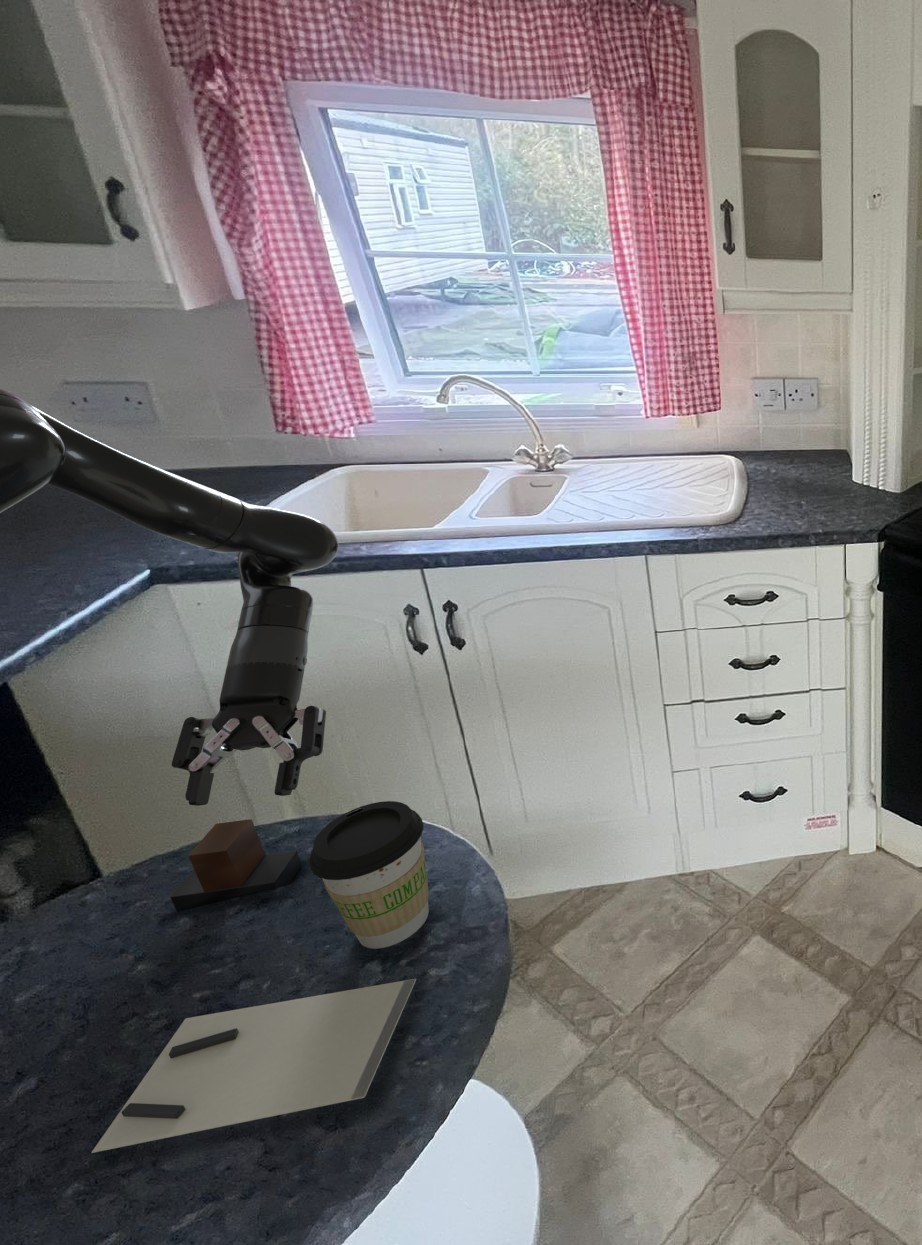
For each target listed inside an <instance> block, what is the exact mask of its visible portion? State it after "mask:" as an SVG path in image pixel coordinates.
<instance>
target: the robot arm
mask: <svg viewBox="0 0 922 1245" xmlns="http://www.w3.org/2000/svg"><path fill="white" fill-rule="evenodd" d="M46 485H49V486H52V487H54V488H57V489H60V490H63V491H64V492H68V493H69V494H72V495H75V496H77V497H79V498H82V499H84V500H85V501H88V502H90V503H92V504H95V505H96V506H99V507H101V508H103V509H105V510H107V511H109V512H111V513H113V514H115V515H116V516H119V517H121V518H123V519H125V520H127V521H128V522H131V523H132V524H135V525H137V526H139V527H142V528H143V529H146V530H148V531H151V532H153V533H156V534H158V535H161V536H163V537H167V538H169V539H172V540H176V541H178V542H182V543H184V544H188V545H191V546H194V547H197V548H200V549H203V550H206V551H210V552H214V553H219V554H236V553H237V569H238V575H239V584H240V590H241V595H242V602H243V603H242V606H241V610H240V614H239V620H238V624H237V629H236V632H235V636H234V638H233V641H232V644H231V646H230V650H229V654H228V658H227V662H226V668H225V672H224V677H223V682H222V686H221V691H220V695H219V700H218V701H219V711H218V713H217V714H216V716H214V717H211V718H199V717H195V716H189V717H187V718H185V719H184V721H183V724H182V727H181V731H180V734H179V737H178V739H177V744H176V747H175V749H174V750H175V751H174V754H173V757H172V760H171V767H172V768H176V769H180V770H184V771H187V772H188V773H189V776H188V781H187V786H186V791H185V795H184V796H185V797H184V798H185V801H188V805H190V806H196V807H198V806H207V804H208V803H209V801H210V797H211V796H210V795H211V790H212V786H213V780H214V776H215V773H214V772H213V771H214V770H215V769H216V768H217V767H218V766H219V765H220V764H221V763H222V762H223V761H224V760H226V759H227V758H230V757H231V756H232V755H233V754H234V753H235V752H236V751H241V752H242V751H250V750H253V749H256V748H260V749H268V748H269V749H271V748H273V749H274V750H275V751H276V753H278V755H279V757H280V758H281V759H282V761H283V762H279V764H278V769H277V775H276V781H275V786H274V795H275V796H278V797H279V796H280V797H285V796H290V795H291V794H293V793H292V792H293V791H294V790H296V789H297V788H298V785H299V780H300V774H301V766H302V764H303V762H304V761H306V760H308V759H310V758H313V757H319V756H320V755H322V753H323V749H324V740H325V739H324V738H325V728H326V718H327V711H326V709H324V708H322V707H318V706H315V705H308V706H306V708H303V709H302V708H301V709H298V706H297V705H298V703H299V701H300V698H301V692H302V687H303V680H304V675H305V669H306V665H307V663H308V653H309V652H308V651H309V633H310V628H311V621H312V615H313V609H314V599H313V596H312V594H311V593H310V592H309V591H307V590H306V589H304V588H301V587H297V586H292V577H293V575H294V574H299V573H304V572H309V571H314V570H318V569H320V568H323V567H326V566H327V565H328V564H331V562H332V561H333V560H334V559H336V557H337V555H338V552H339V541H338V538H337V536H336V534H335V532H334V531H333V530H332V529H331V528H330V527H329V526H328V525H326V523H324V522H322V521H321V520H318V519H317V518H314V517H311V516H309V515H306V514H303V513H298V512H294V511H290V510H285V509H280V508H276V507H271V506H265V505H258V504H253V503H249V502H246V501H244V500H242V499H240V498H237V497H234V496H231V495H229V494H226V493H224V492H221V491H219V490H216V489H214V488H212V487H209V486H206V485H203V484H202V483H199V482H195V481H194V480H191V479H188V478H186V477H183V476H180V475H178V474H175V473H173V472H170V471H167V470H165V469H162V468H161V467H158V466H156V465H154V464H150V463H148V462H145V461H143V460H141V459H139V458H136V457H134V456H131V455H129V454H127V453H124V452H122V451H120V450H117V449H115V448H114V447H112V446H111V447H110V446H109V445H107V444H105V443H103V442H100V441H98V440H96V439H95V438H92V437H90V436H89V435H86V434H84V433H83V432H80V431H79V430H76V429H74V428H72V427H70V426H69V425H67V424H65V423H64V422H61V421H60V420H58V419H56V418H54V417H53V416H51V415H49V414H47V413H45V412H44V411H43V410H41V409H39V408H37V407H35V406H34V405H31V404H30V403H28V402H27V401H26V400H24V399H22V398H21V397H19V396H17V395H15V394H13V393H11V392H9V391H7V390H5V389H1V388H0V514H1V513H3V512H4V511H6V510H8V509H9V508H11V507H13V506H15V505H17V504H18V503H20V502H21V501H23V500H24V499H26V498H28V497H30V496H31V495H32V494H34V493H36V492H38V491H39V490H41V489H42V488H43V487H45V486H46ZM297 722H299V724H300V725H301V726H302V731H301V740H300V747H299V746H298V743H297V741H296V740H295V738H294V737H293V736H292V734H291V733H290V732H289V731H290V730H291V728H292V727H293V726H295V724H296V723H297ZM212 730H214V731H215V733H216V734H215V735H214V736H213V737H212V738H211V739H210V740H209V741H208V742H207V743H206V744H205V740H206V737H207V736H208V735H210V734H212V732H211V731H212ZM204 744H205V745H204Z"/></svg>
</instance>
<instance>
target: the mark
mask: <svg viewBox="0 0 922 1245" xmlns="http://www.w3.org/2000/svg"><path fill="white" fill-rule="evenodd" d="M238 1033H239V1031H238V1029H237V1028H235V1029H232V1030H229V1031H225V1032H222V1033H218V1034H215V1035H212V1036H208V1037H205V1038H201V1039H198V1040H195V1041H191V1042H188V1043H184V1044H181V1045H177V1046H174V1047H172V1049H171V1051H170V1053H169V1056H170V1058H174V1057H178V1056H181V1055H184V1054H188V1053H191V1052H194V1051H198V1050H201V1049H205V1048H208V1047H211V1046H215V1045H218V1044H221V1043H225V1042H228V1041H231V1040H235V1039H236V1038H237V1035H238Z"/></svg>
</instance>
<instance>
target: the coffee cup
mask: <svg viewBox="0 0 922 1245" xmlns="http://www.w3.org/2000/svg"><path fill="white" fill-rule="evenodd" d="M423 832H424V821H423V819H422V817H421V815H420V814H418V812H416V811H415V810H413V809H412V808H411V807H410V806H408V805H407V804H405V803H404V802H400V801H394V800H384V801H377V802H372V803H368V804H365V805H361V806H359V807H356V808H353V809H351V810H348V811H346V812H345V813H343V814H341V815H339V816H338V817H337V818H335V819H333V820H332V821H331V822H329V823H328V824H327V825H326V826H324V827H323V828H322V830H320V831H319V833H318V834H317V835H316V837H315V839H314V840H313V845H312V848H311V852H310V854H309V869H310V871H311V873H312V874H313V875H314V876H316V877H318V878H319V879H322V881H323V884H324V889H325V890H326V892H327V893H328V895H329V897H330V898H331V900H332V902H333V904H334V905H335V906H336V908H337V910H338V912H339V913H340V915H341V917H342V918H343V920H344V922H345V923H346V925H347V927H348V928H349V930H350V931H351V932H352V934H354V936H356V938H357V940H358V942H359V943H360V944H361V946H363V947H365V948H367V949H375V950H376V949H384V948H389V947H391V946H394V945H397V944H399V943H401V942H403V941H404V940H406V939H408V938H410V937H412V935H414V934H415V933H416V932H418V930H419V929H420V928H422V926H423V925H424V924H425V922H426V920H427V919H428V917H429V912H430V910H429V908H430V907H429V885H428V883H429V882H428V877H427V876H428V874H427V864H426V856H425V847H424V844H423V840H422V838H421V837H422V835H423Z"/></svg>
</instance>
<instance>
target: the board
mask: <svg viewBox="0 0 922 1245" xmlns="http://www.w3.org/2000/svg"><path fill="white" fill-rule="evenodd" d="M416 981H417V978H411V979H405V980H399V981H394V982H388V983H387V982H386V983H382V984H377V985H370V986H363V987H359V988H353V989H352V988H351V989H348V990H342V991H336V992H330V993H323V994H319V995H318V994H317V995H312V996H307V997H306V996H305V997H302V998H295V999H290V1000H284V1001H278V1002H273V1003H266V1004H261V1005H254V1006H249V1007H243V1008H237V1009H233V1010H232V1009H231V1010H226V1011H220V1012H214V1013H208V1014H203V1015H198V1016H197V1015H196V1016H192V1017H186V1018H184V1020H183V1021H182V1023H181V1024H180V1025H179V1027H178V1028H177V1030H176V1031H175V1033H174V1034H173V1036H172V1037H171V1039H169V1041H168V1043H167V1044H166V1045H165V1047H164V1048H163V1050H162V1051H161V1053H160V1054H159V1056H158V1057H157V1058H156V1060H155V1061H154V1063H153V1064H152V1066H151V1067H150V1068H149V1070H147V1072H146V1074H145V1075H144V1077H143V1078H142V1079H141V1081H140V1082H139V1084H138V1085H137V1087H136V1088H135V1089H134V1091H133V1093H132V1094H131V1095H130V1097H129V1098H128V1100H127V1101H126V1103H125V1104H124V1105H123V1107H122V1108H121V1110H120V1111H119V1112H118V1114H117V1115H116V1116H115V1118H114V1120H113V1121H112V1123H111V1124H110V1125H109V1127H108V1128H107V1129H106V1131H105V1132H104V1133H103V1135H102V1136H101V1138H100V1139H99V1141H98V1142H97V1144H96V1145H95V1146H94V1148H93V1149H92V1150H91V1153H90V1154H94V1153H100V1152H104V1151H108V1150H114V1149H118V1148H124V1147H128V1146H129V1147H130V1146H134V1145H137V1144H138V1145H139V1144H143V1143H144V1144H145V1143H148V1142H153V1141H158V1140H163V1139H168V1138H172V1137H173V1138H174V1137H177V1136H183V1135H188V1134H193V1133H198V1132H202V1131H207V1130H212V1129H217V1128H222V1127H227V1126H232V1125H236V1124H241V1123H248V1122H252V1121H256V1120H262V1119H267V1118H271V1117H276V1116H280V1115H286V1114H291V1113H296V1112H301V1111H306V1110H311V1109H316V1108H321V1107H325V1106H330V1105H336V1104H342V1103H345V1102H350V1101H355V1100H361V1099H364V1098H366V1096H367V1094H368V1091H369V1089H370V1087H371V1084H372V1082H373V1080H374V1077H375V1075H376V1073H377V1070H378V1068H379V1067H380V1063H381V1062H382V1058H383V1056H384V1054H385V1052H386V1050H387V1047H388V1045H389V1043H390V1041H391V1038H392V1036H393V1034H394V1032H395V1030H396V1027H397V1025H398V1023H399V1020H400V1018H401V1016H402V1013H403V1011H404V1009H405V1007H406V1004H407V1002H408V1000H409V997H410V995H411V993H412V990H413V989H414V986H415V984H416ZM235 1028H237V1029H238V1031H239V1033H238V1035H237V1038H236V1039H235V1040H231V1041H228V1042H225V1043H221V1044H218V1045H215V1046H211V1047H208V1048H205V1049H201V1050H198V1051H194V1052H191V1053H188V1054H184V1055H181V1056H178V1057H174V1058H170V1056H169V1053H170V1051H171V1049H172V1047H174V1046H177V1045H181V1044H184V1043H188V1042H191V1041H195V1040H198V1039H201V1038H205V1037H208V1036H212V1035H215V1034H218V1033H222V1032H225V1031H229V1030H232V1029H235ZM130 1103H141V1104H164V1105H184V1107H185V1111H184V1112H183V1113H182V1114H181V1115H180V1116H179V1118H178V1119H172V1118H149V1117H126V1116H123V1115H122V1113H121V1112H122V1111H123V1110H124V1109H125V1108H126V1107H127V1106H128V1105H129V1104H130Z"/></svg>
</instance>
